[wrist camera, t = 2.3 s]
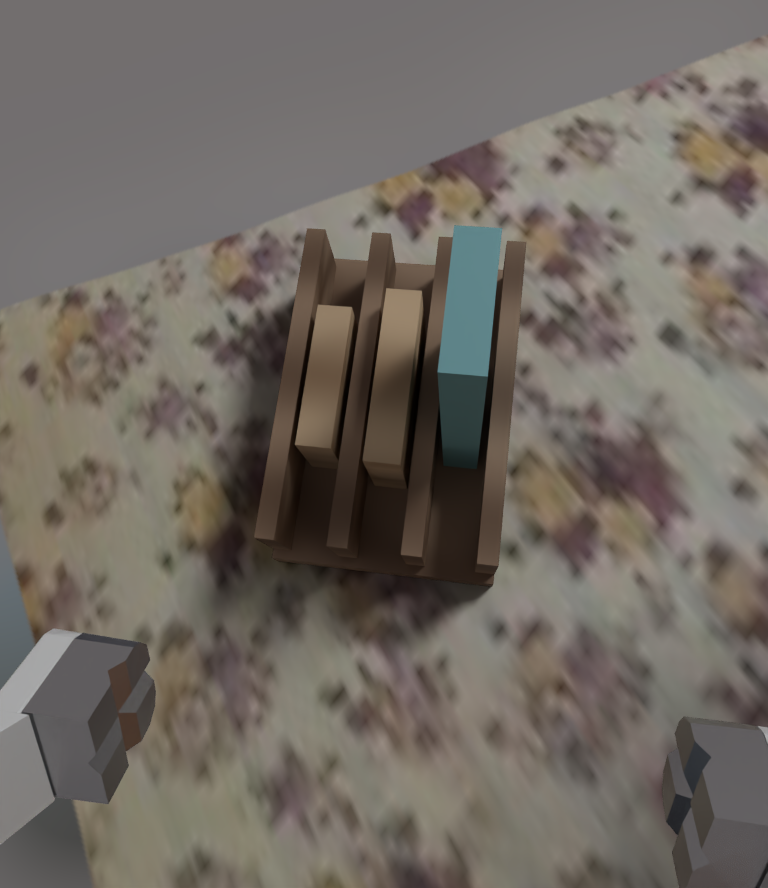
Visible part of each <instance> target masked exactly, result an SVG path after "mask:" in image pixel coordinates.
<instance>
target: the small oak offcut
mask: <svg viewBox="0 0 768 888" xmlns="http://www.w3.org/2000/svg"><path fill="white" fill-rule="evenodd" d="M357 334H358V326H357V322H356V319H355V316H354V313H353V309H352V307H343V306H330V305H318V307H317V313H316V319H315V325H314V331H313V337H312V343H311V350H310V356H309V362H308V368H307V374H306V380H305V386H304V392H303V398H302V405H301V411H300V417H299V423H298V429H297V435H296V441H295V446H296V447H297V448H298V449H299V451H300V452H301V453H302V454H303V456H304V457H305V458H306V460H307V461H308V462H309V463H310V465H311V466H312V467H320V468H330V469H338V463H339V456H340V449H341V443H342V436H343V429H344V422H345V415H346V408H347V402H348V395H349V388H350V381H351V374H352V368H353V361H354V354H355V347H356V340H357Z"/></svg>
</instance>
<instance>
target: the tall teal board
mask: <svg viewBox="0 0 768 888" xmlns="http://www.w3.org/2000/svg"><path fill="white" fill-rule="evenodd" d="M501 233H502V228H489V227H472V226H456V225H454V234H453V242H452V251H451V260H450V268H449V277H448V286H447V294H446V303H445V312H444V321H443V329H442V338H441V347H440V355H439V364H438V387H439V403H440V418H441V434H442V450H443V466H451V467H460V468H470V469H477V463H478V455H479V446H480V438H481V429H482V421H483V413H484V404H485V396H486V387H487V379H488V369H489V359H490V348H491V338H492V327H493V317H494V306H495V296H496V286H497V275H498V265H499V254H500V244H501Z"/></svg>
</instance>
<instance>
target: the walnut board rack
mask: <svg viewBox="0 0 768 888" xmlns="http://www.w3.org/2000/svg"><path fill="white" fill-rule="evenodd" d="M452 242H453V238H452V237H439V240H438V249H437V257H436V265H421V264H406V263H395V258H394V252H393V245H392V239H391V234H388V233H372V238H371V245H370V252H369V259H368V261H361V260H347V259H334V257H333V253H332V250H331V247H330V244H329V240H328V237H327V234H326V231H325V230H324V229H308V228H307V233H306V238H305V244H304V250H303V256H302V262H301V267H300V273H299V279H298V285H297V291H296V296H295V302H294V308H293V314H292V319H291V325H290V331H289V337H288V343H287V348H286V354H285V360H284V366H283V372H282V377H281V383H280V389H279V395H278V400H277V406H276V412H275V418H274V424H273V429H272V435H271V441H270V447H269V453H268V458H267V464H266V470H265V476H264V481H263V487H262V493H261V499H260V505H259V510H258V516H257V522H256V528H255V534H254V538H255V539H257V540H259V541H261V542H263V543H264V544H266V545H268V546H270V547H272V548H273V554H272V558H273V559H275V560H277V561H282V562H290V563H299V564H307V565H315V566H324V567H332V568H340V569H349V570H357V571H365V572H374V573H382V574H390V575H399V576H407V577H415V578H424V579H432V580H440V581H449V582H457V583H465V584H474V585H482V586H490V587H492V586H493V581H494V574H495V572H496V570H497V568H498V565H499V553H500V542H501V530H502V518H503V507H504V495H505V484H506V472H507V460H508V449H509V437H510V425H511V414H512V402H513V390H514V379H515V367H516V355H517V344H518V332H519V320H520V309H521V297H522V286H523V274H524V262H525V251H526V242H516V241H507V245H506V253H505V261H504V269H503V270H498V275H497V286H496V296H495V306H494V317H493V327H492V338H491V348H490V359H489V369H488V379H487V387H486V396H485V404H484V413H483V421H482V429H481V438H480V446H479V455H478V463H477V469H470V468H460V467H451V466H443V450H442V434H441V418H440V403H439V387H438V364H439V355H440V347H441V338H442V329H443V321H444V312H445V303H446V294H447V286H448V277H449V268H450V260H451V251H452ZM386 288H389V289H403V290H417V291H422V297H423V308H424V319H425V330H426V341H425V349H424V357H423V366H422V374H421V382H420V390H419V399H418V407H417V415H416V423H415V432H414V440H413V448H412V457H411V465H410V473H409V481H408V489H400V488H391V487H381V486H375V485H374V483H373V481H372V479H371V477H370V475H369V473H368V471H367V469H366V467H365V465H364V463H363V453H364V446H365V439H366V432H367V424H368V417H369V410H370V403H371V396H372V388H373V381H374V374H375V367H376V359H377V352H378V345H379V338H380V330H381V323H382V316H383V309H384V302H385V294H386ZM318 305H330V306H343V307H352V309H353V313H354V316H355V319H356V322H357V326H358V334H357V340H356V347H355V354H354V361H353V368H352V374H351V381H350V388H349V395H348V402H347V408H346V415H345V422H344V429H343V436H342V443H341V449H340V456H339V463H338V469H330V468H320V467H312V466H311V465H310V463H309V462H308V461H307V460H306V458H305V457H304V456H303V454H302V453H301V452H300V451H299V449H298V448H297V447H296V446H295V441H296V435H297V429H298V423H299V417H300V411H301V405H302V398H303V392H304V386H305V380H306V374H307V368H308V362H309V356H310V350H311V343H312V337H313V331H314V325H315V319H316V313H317V307H318Z"/></svg>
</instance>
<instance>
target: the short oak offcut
mask: <svg viewBox="0 0 768 888" xmlns="http://www.w3.org/2000/svg"><path fill="white" fill-rule="evenodd" d="M425 341H426V330H425V319H424V308H423V297H422V291H417V290H403V289H389V288H386V294H385V302H384V309H383V316H382V323H381V330H380V338H379V345H378V352H377V359H376V367H375V374H374V381H373V388H372V396H371V403H370V410H369V417H368V424H367V432H366V439H365V446H364V453H363V463H364V465H365V467H366V469H367V471H368V473H369V475H370V477H371V479H372V481H373V483H374V485H375V486H381V487H391V488H400V489H408V481H409V473H410V465H411V457H412V448H413V440H414V432H415V423H416V415H417V407H418V399H419V390H420V382H421V374H422V366H423V357H424V349H425Z"/></svg>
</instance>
